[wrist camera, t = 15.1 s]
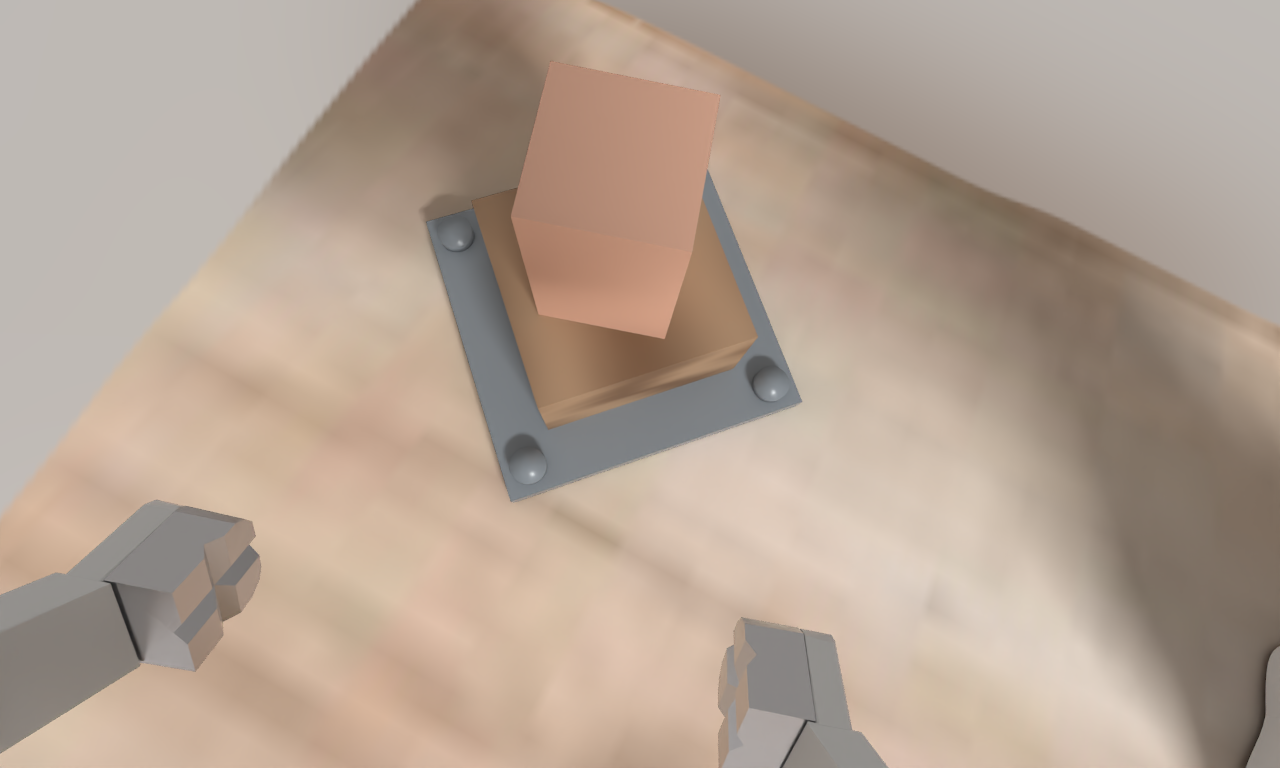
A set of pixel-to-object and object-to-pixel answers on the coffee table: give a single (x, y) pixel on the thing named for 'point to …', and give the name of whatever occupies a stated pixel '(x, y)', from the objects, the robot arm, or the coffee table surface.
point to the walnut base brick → (613, 359)
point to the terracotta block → (612, 197)
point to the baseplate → (614, 434)
